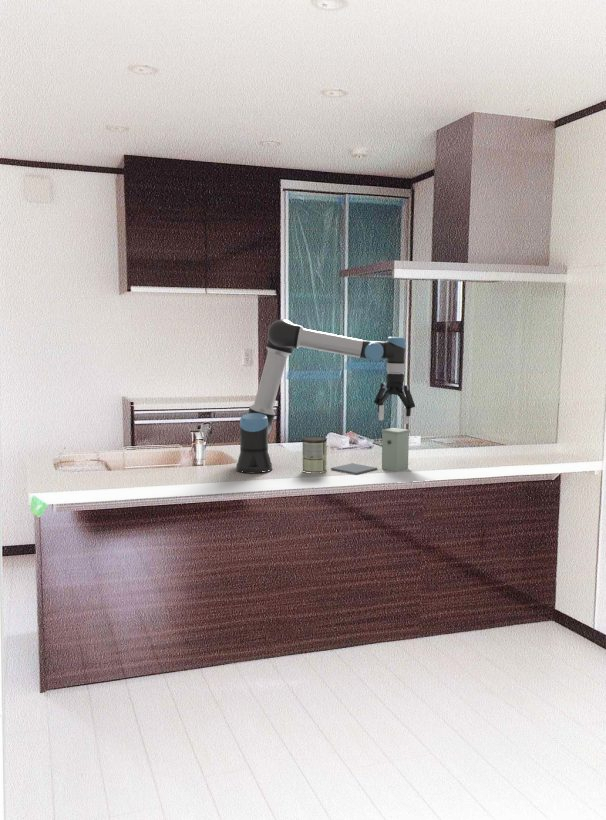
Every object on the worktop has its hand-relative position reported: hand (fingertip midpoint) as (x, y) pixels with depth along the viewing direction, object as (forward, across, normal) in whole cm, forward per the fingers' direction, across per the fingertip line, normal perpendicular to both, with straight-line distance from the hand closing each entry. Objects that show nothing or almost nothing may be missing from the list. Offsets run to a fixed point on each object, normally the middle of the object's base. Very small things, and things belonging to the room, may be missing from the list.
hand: (393, 421), depth 318 cm
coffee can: (+20, +16, +32) cm, 41 cm away
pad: (+20, +6, +18) cm, 28 cm away
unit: (+19, -5, +4) cm, 20 cm away
